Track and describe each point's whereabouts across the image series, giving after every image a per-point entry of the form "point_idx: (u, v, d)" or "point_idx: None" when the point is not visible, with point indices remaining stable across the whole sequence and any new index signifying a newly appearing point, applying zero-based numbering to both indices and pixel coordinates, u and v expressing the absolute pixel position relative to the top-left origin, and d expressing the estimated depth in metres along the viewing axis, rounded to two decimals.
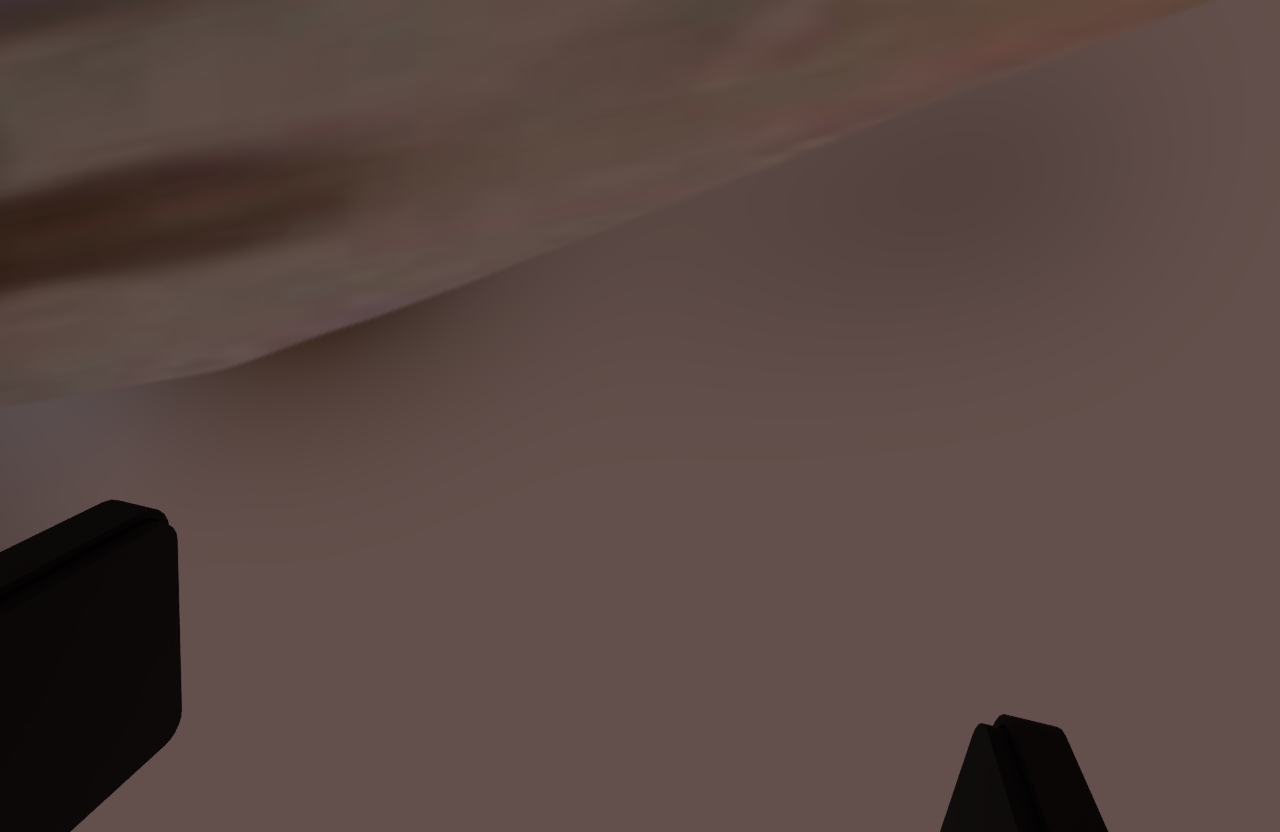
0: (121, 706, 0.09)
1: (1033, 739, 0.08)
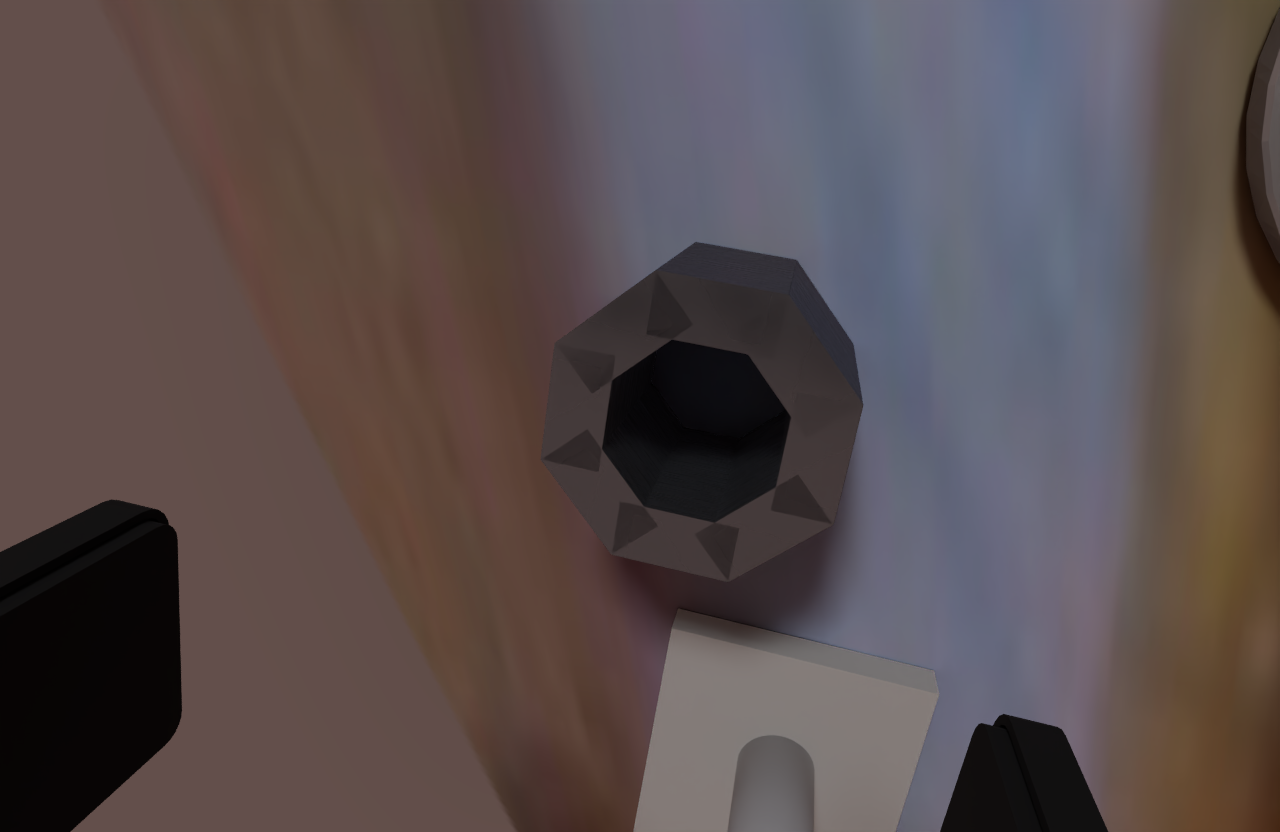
0: (121, 706, 0.09)
1: (1033, 739, 0.08)
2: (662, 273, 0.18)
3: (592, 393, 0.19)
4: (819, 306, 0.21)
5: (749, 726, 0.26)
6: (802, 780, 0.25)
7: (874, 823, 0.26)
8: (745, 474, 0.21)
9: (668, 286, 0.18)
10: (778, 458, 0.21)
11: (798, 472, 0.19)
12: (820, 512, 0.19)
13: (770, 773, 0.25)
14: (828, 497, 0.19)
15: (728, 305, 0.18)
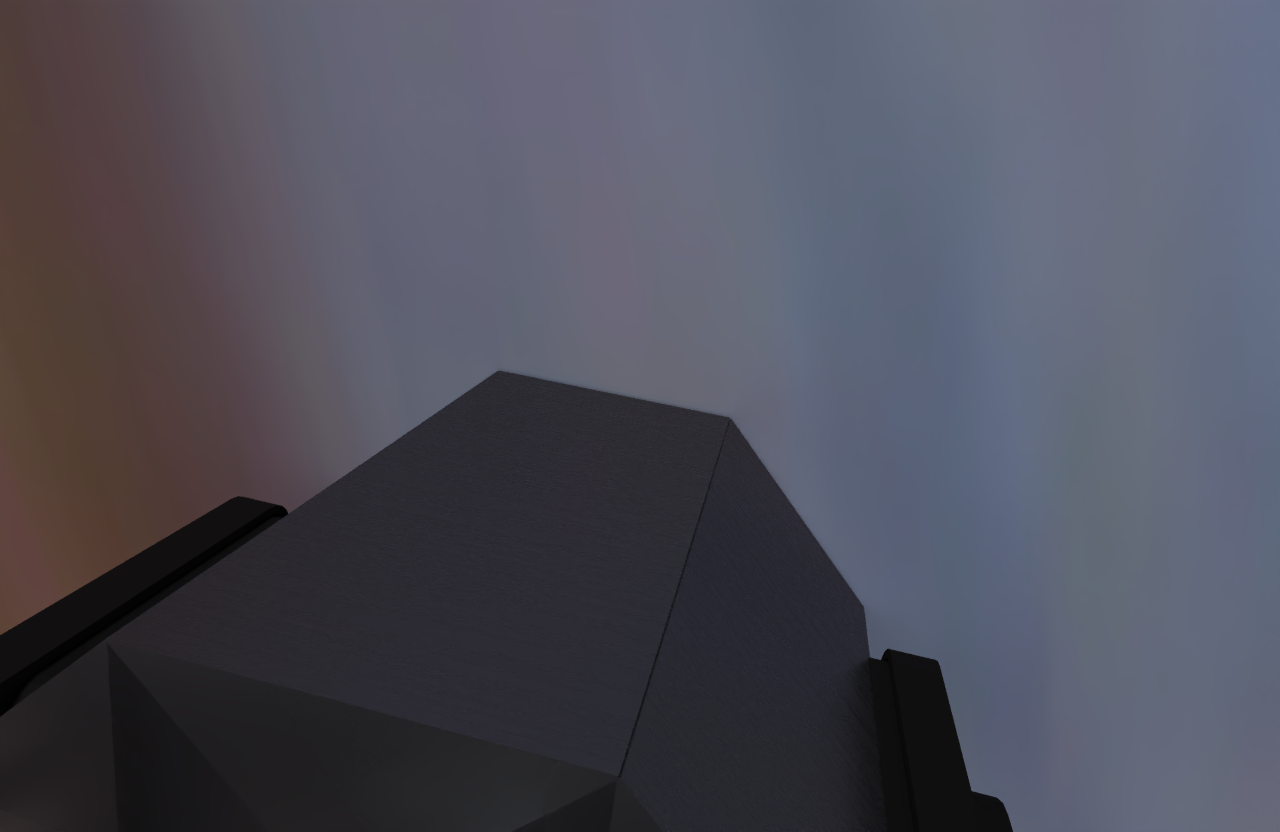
0: None
1: (909, 668, 0.09)
2: (130, 653, 0.04)
3: None
4: (779, 574, 0.08)
5: None
6: None
7: None
8: None
9: (160, 700, 0.05)
10: None
11: None
12: None
13: None
14: None
15: (390, 788, 0.04)
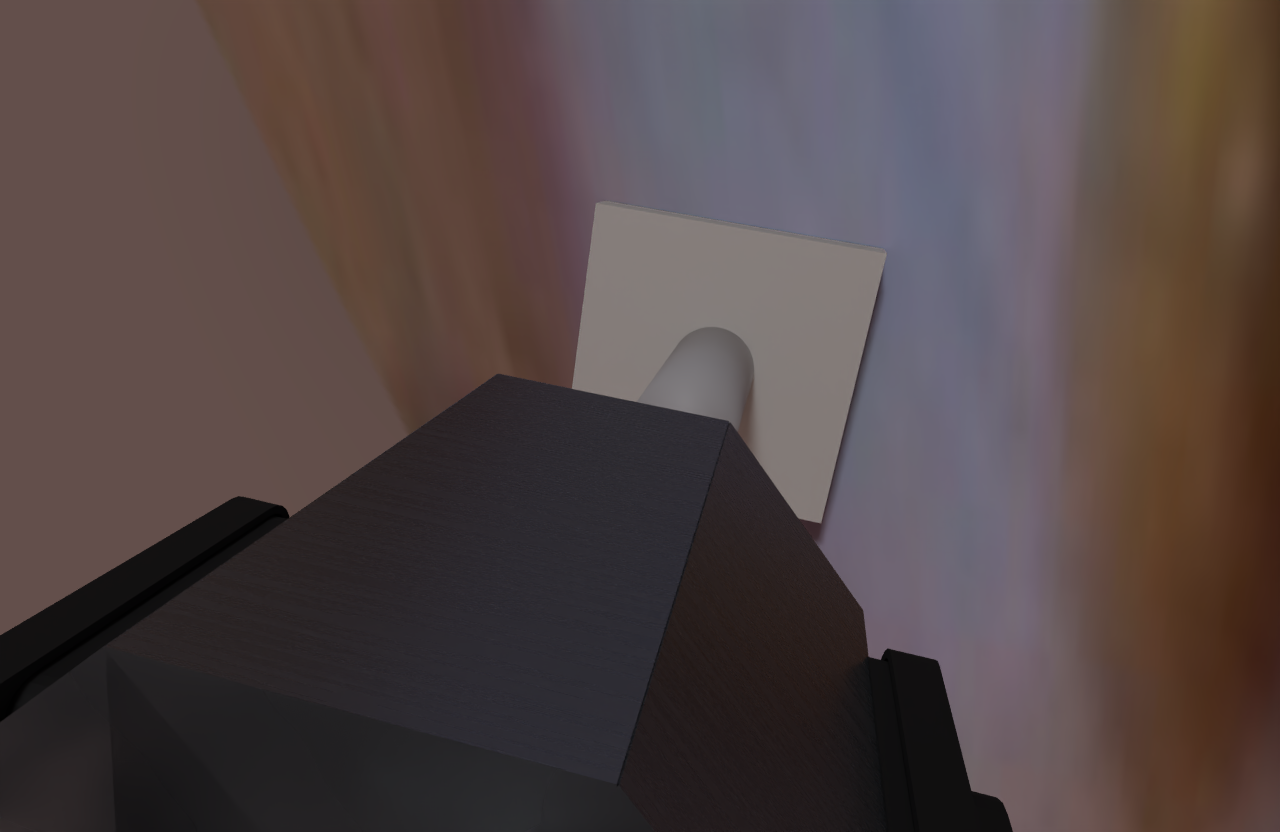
0: None
1: (908, 668, 0.09)
2: (128, 661, 0.04)
3: None
4: (778, 578, 0.08)
5: (682, 318, 0.24)
6: (737, 351, 0.23)
7: (819, 426, 0.24)
8: None
9: (158, 707, 0.05)
10: None
11: None
12: None
13: (701, 340, 0.22)
14: None
15: (387, 797, 0.04)
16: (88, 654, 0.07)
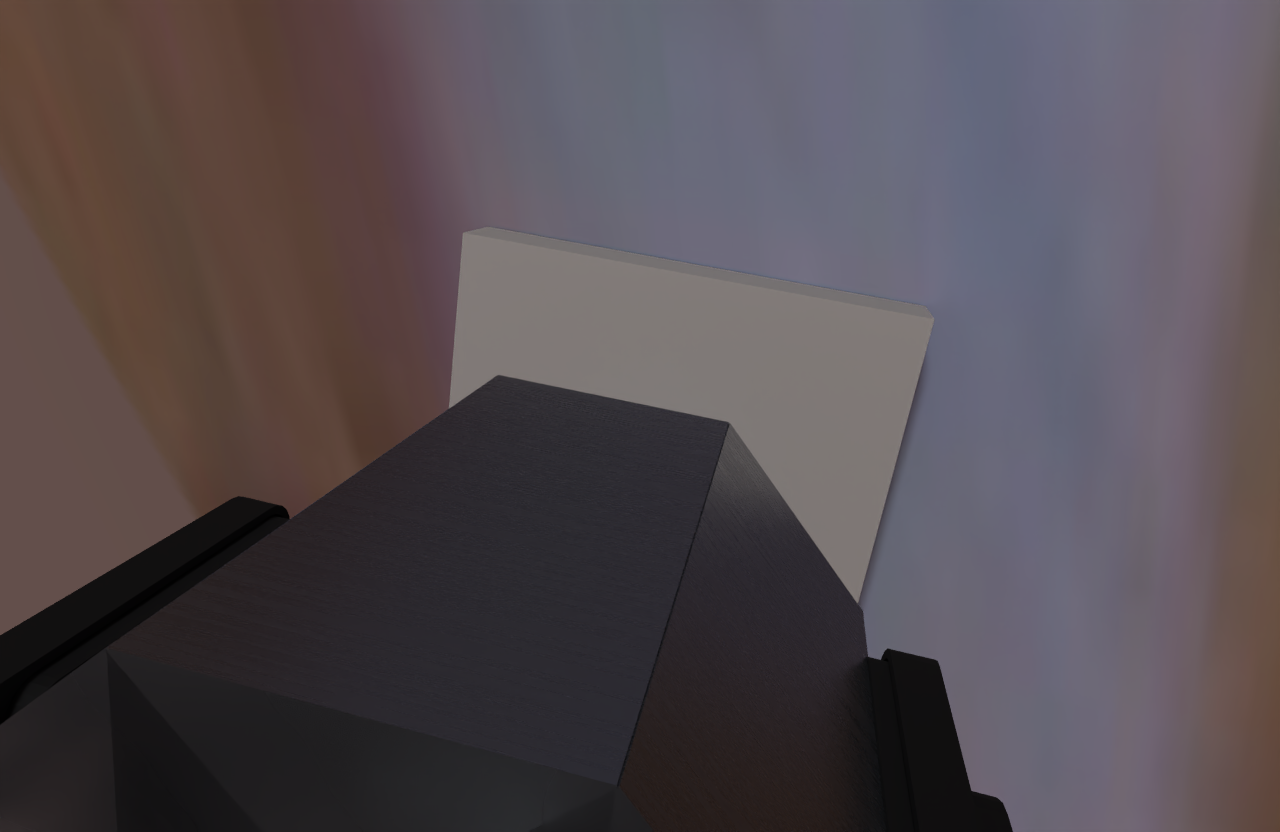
0: None
1: (908, 668, 0.09)
2: (130, 662, 0.04)
3: None
4: (778, 579, 0.08)
5: None
6: None
7: None
8: None
9: (160, 709, 0.05)
10: None
11: None
12: None
13: None
14: None
15: (388, 797, 0.04)
16: (87, 653, 0.07)
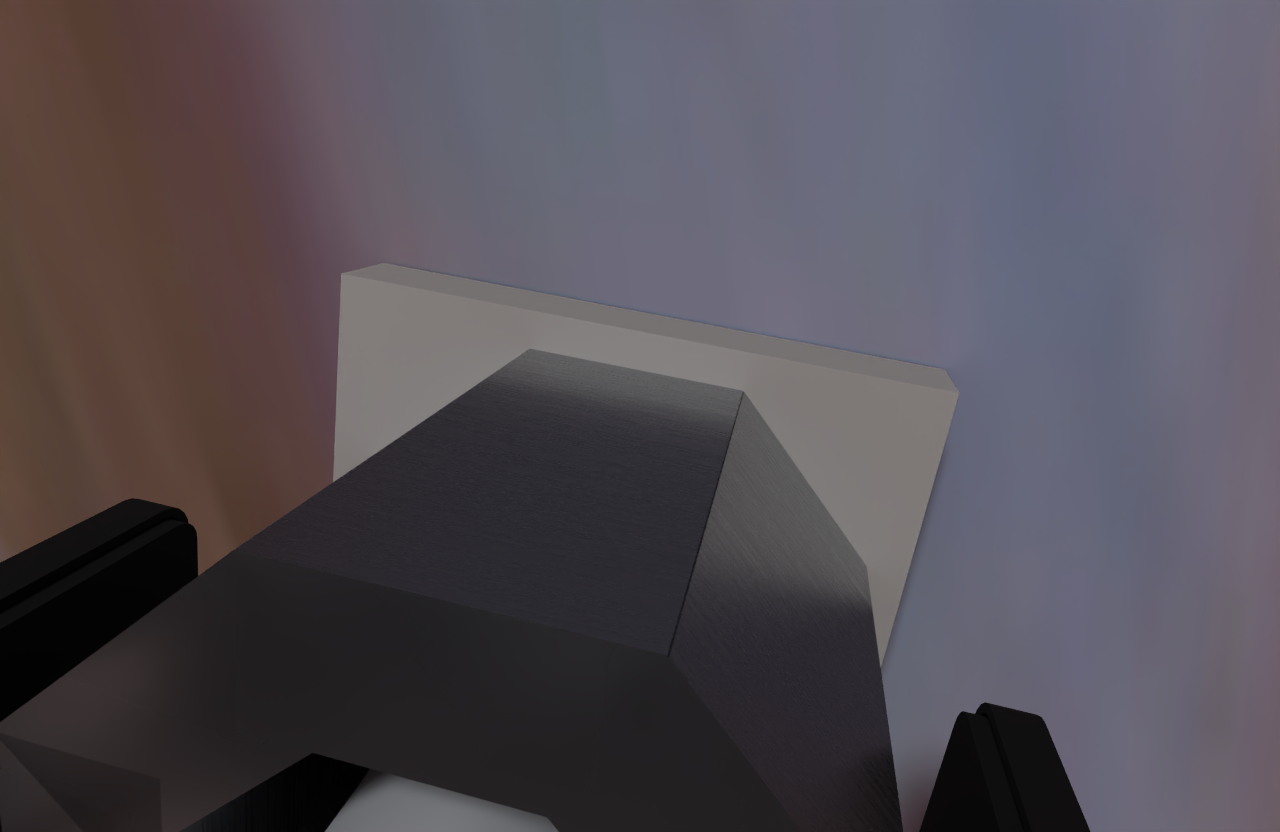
0: None
1: (1013, 726, 0.08)
2: (255, 561, 0.05)
3: None
4: (790, 526, 0.09)
5: None
6: None
7: None
8: None
9: (279, 601, 0.05)
10: None
11: None
12: None
13: None
14: None
15: (473, 674, 0.05)
16: None
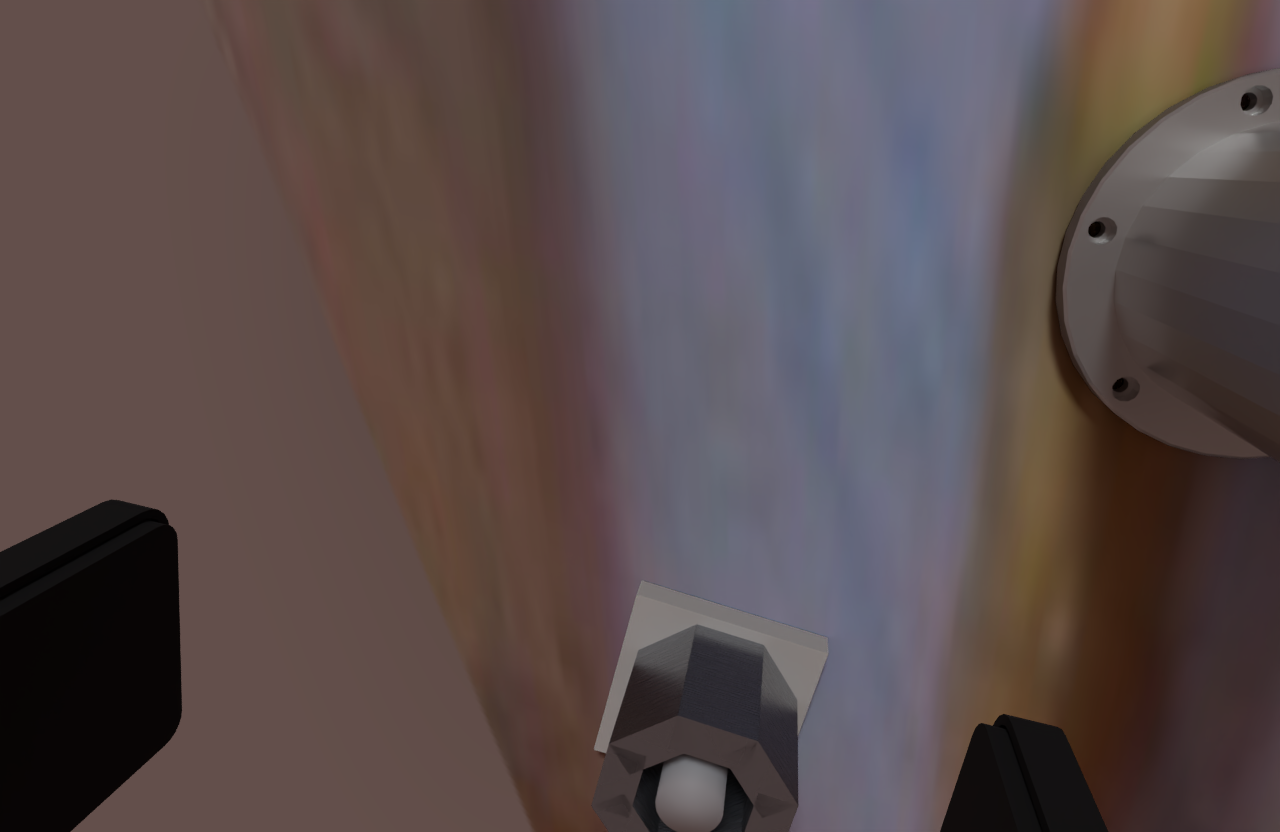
0: (121, 706, 0.09)
1: (1033, 739, 0.08)
2: (681, 718, 0.29)
3: (630, 774, 0.30)
4: (776, 696, 0.32)
5: None
6: None
7: None
8: None
9: (684, 725, 0.29)
10: (742, 802, 0.32)
11: None
12: None
13: None
14: None
15: (720, 741, 0.29)
16: None
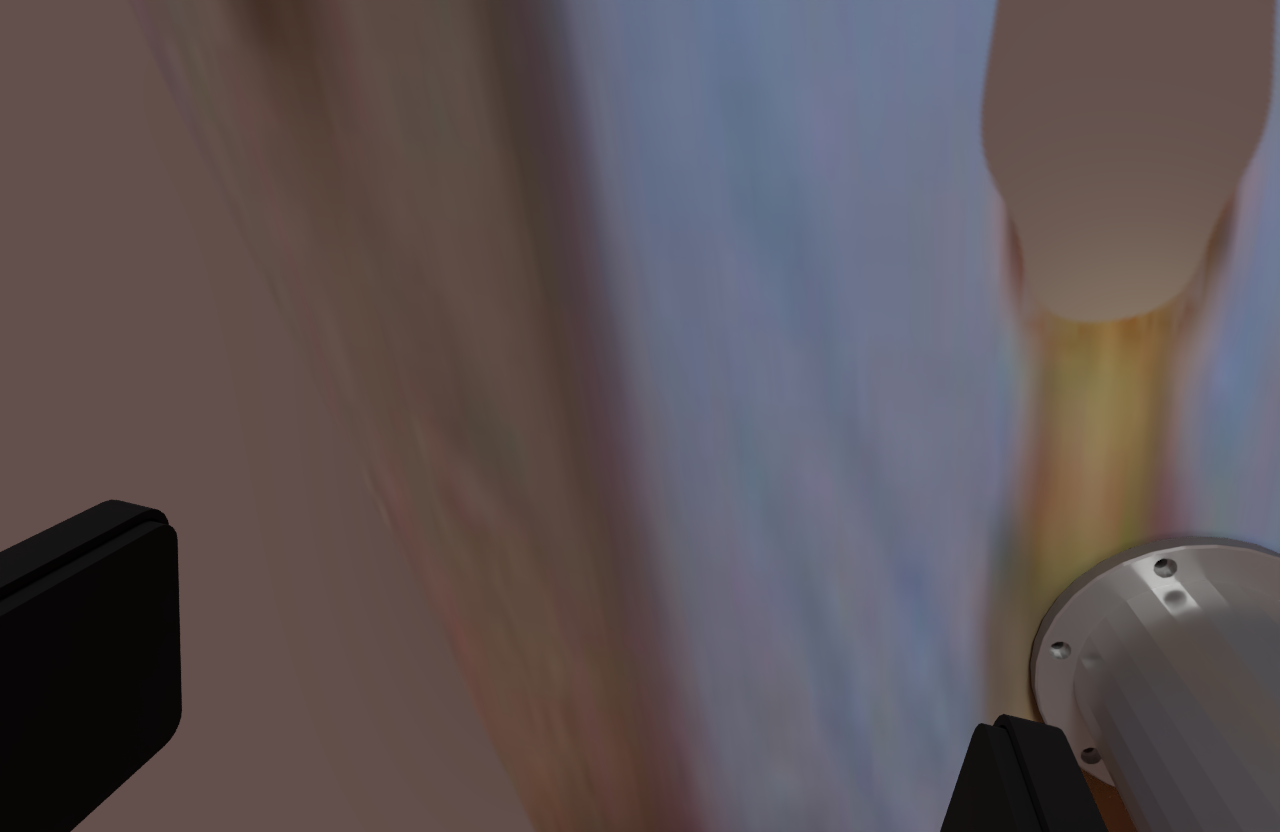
0: (121, 706, 0.09)
1: (1033, 739, 0.08)
2: None
3: None
4: None
5: None
6: None
7: None
8: None
9: None
10: None
11: None
12: None
13: None
14: None
15: None
16: None
